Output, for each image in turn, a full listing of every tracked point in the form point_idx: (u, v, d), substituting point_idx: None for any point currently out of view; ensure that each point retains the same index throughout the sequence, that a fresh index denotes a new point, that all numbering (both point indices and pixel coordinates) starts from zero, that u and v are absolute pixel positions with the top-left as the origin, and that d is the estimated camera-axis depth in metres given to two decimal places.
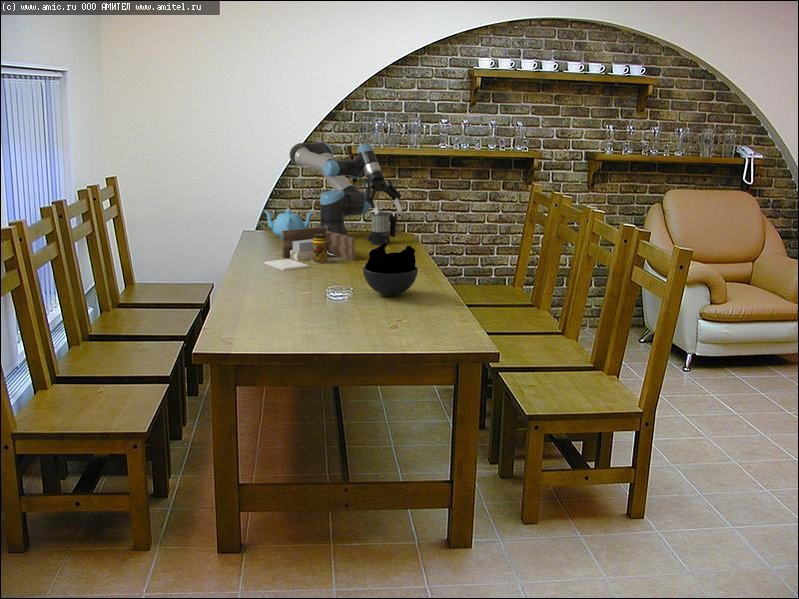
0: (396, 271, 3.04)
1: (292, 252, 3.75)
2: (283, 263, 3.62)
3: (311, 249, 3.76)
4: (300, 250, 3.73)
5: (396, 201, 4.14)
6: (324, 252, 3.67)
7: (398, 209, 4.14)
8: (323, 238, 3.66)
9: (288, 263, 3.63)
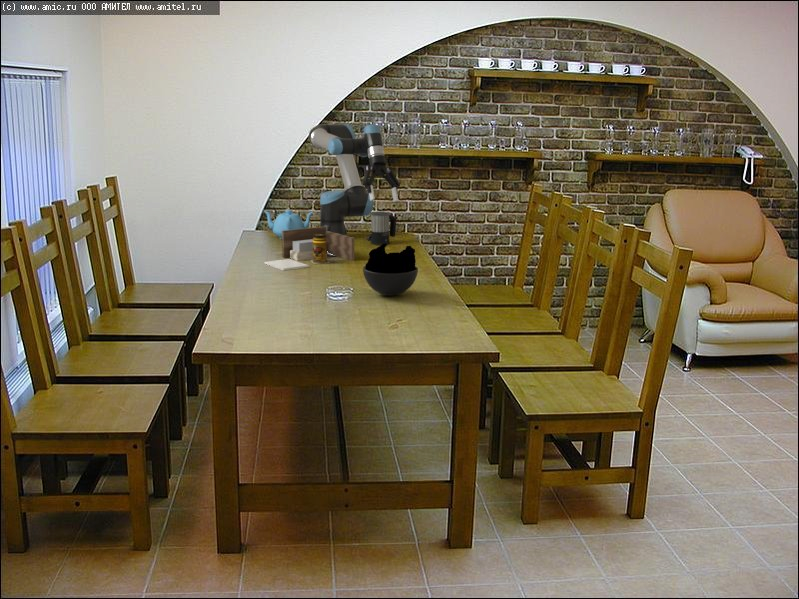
0: (396, 271, 3.04)
1: (292, 252, 3.75)
2: (283, 263, 3.62)
3: (311, 249, 3.76)
4: (300, 250, 3.73)
5: (394, 190, 4.02)
6: (324, 252, 3.67)
7: (394, 198, 4.01)
8: (323, 238, 3.66)
9: (288, 263, 3.63)
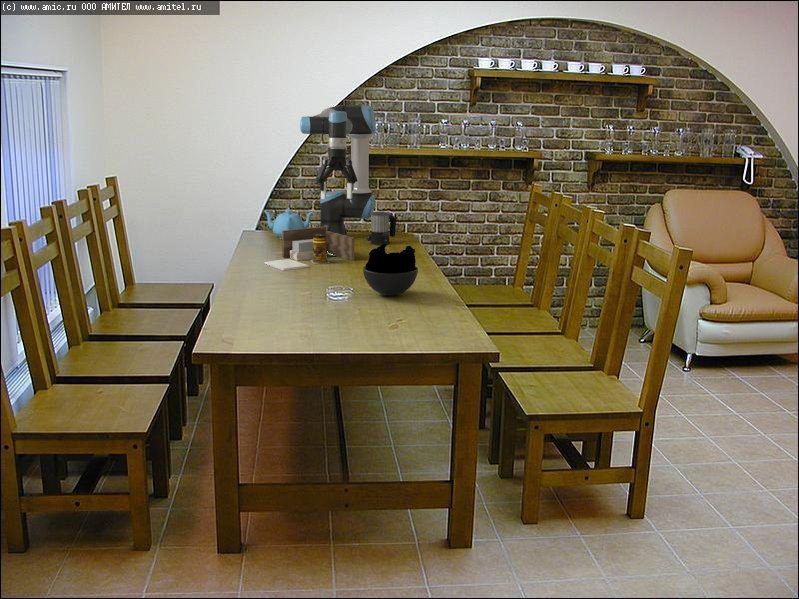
0: (396, 271, 3.04)
1: (292, 252, 3.75)
2: (283, 263, 3.62)
3: (311, 249, 3.76)
4: (299, 250, 3.73)
5: (349, 186, 3.72)
6: (324, 252, 3.67)
7: (348, 195, 3.73)
8: (323, 238, 3.66)
9: (288, 263, 3.63)
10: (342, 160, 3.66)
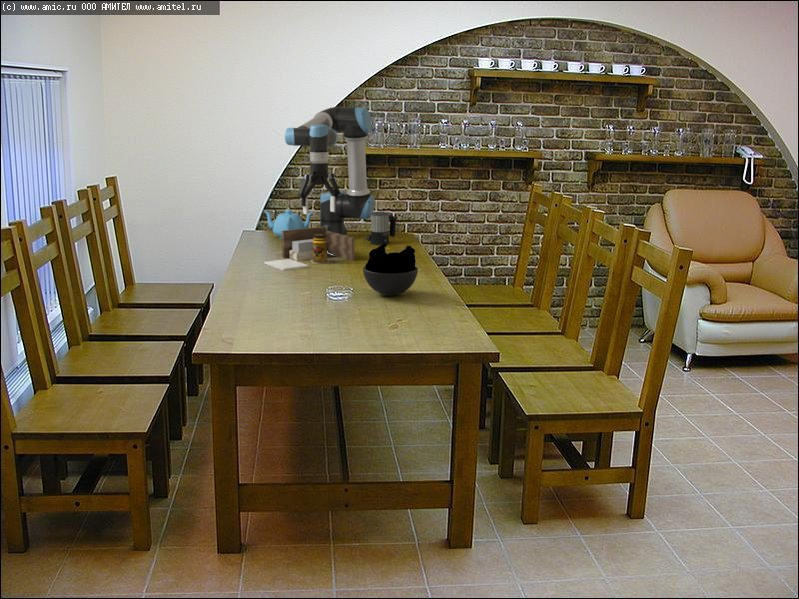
0: (396, 271, 3.04)
1: (292, 252, 3.75)
2: (283, 263, 3.62)
3: (311, 249, 3.76)
4: (299, 250, 3.73)
5: (332, 199, 3.68)
6: (324, 252, 3.67)
7: (331, 208, 3.70)
8: (323, 238, 3.66)
9: (288, 263, 3.63)
10: (324, 174, 3.63)
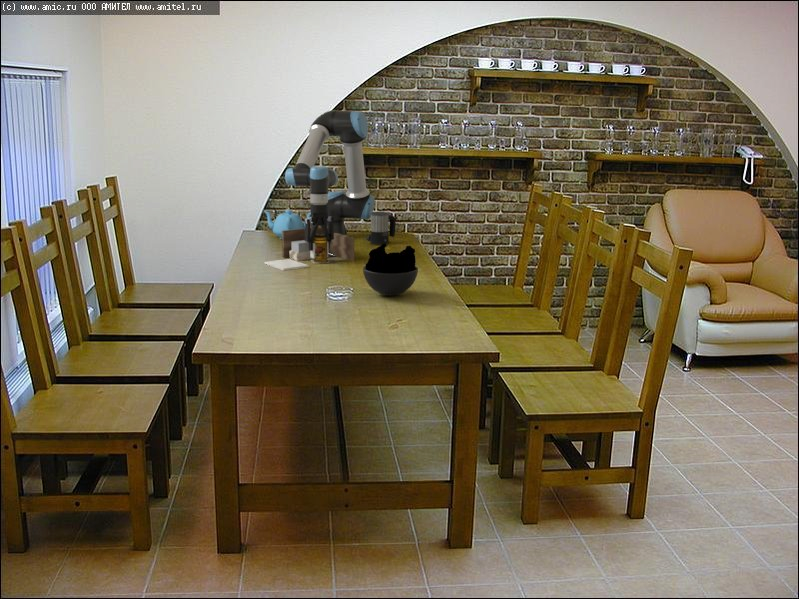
0: (396, 271, 3.04)
1: (291, 252, 3.75)
2: (283, 263, 3.62)
3: None
4: (299, 250, 3.73)
5: None
6: (325, 252, 3.68)
7: None
8: (324, 238, 3.66)
9: (288, 263, 3.63)
10: (325, 214, 3.67)
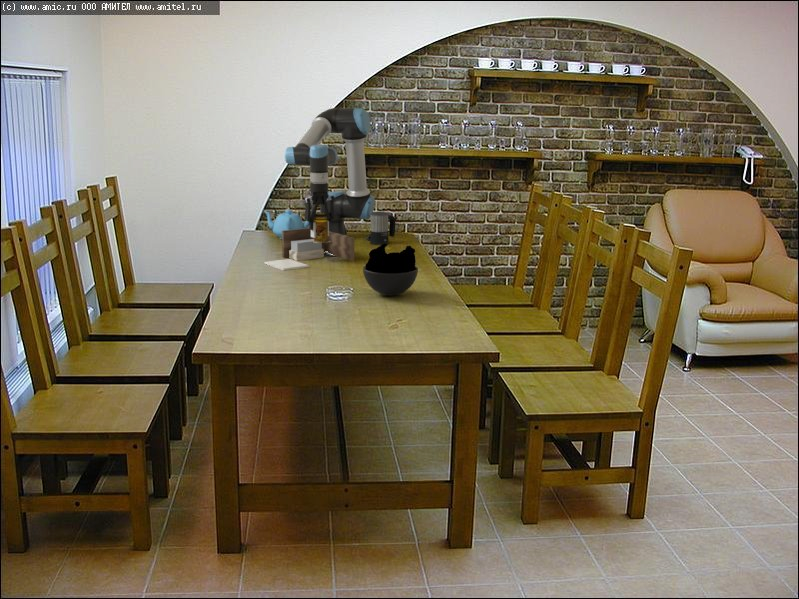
0: (396, 271, 3.04)
1: (291, 252, 3.75)
2: (283, 263, 3.62)
3: (309, 249, 3.76)
4: (298, 250, 3.73)
5: None
6: (325, 231, 3.66)
7: None
8: (324, 217, 3.65)
9: (288, 263, 3.63)
10: (325, 193, 3.65)
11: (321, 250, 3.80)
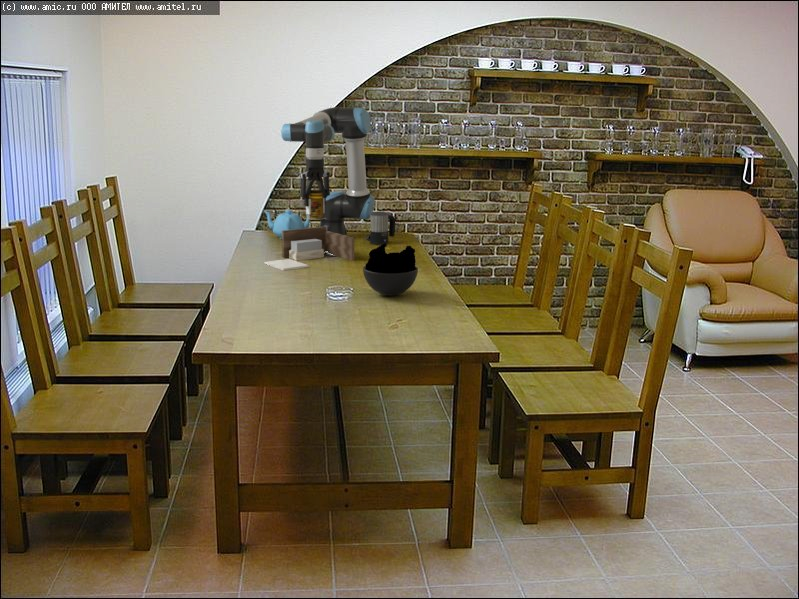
0: (396, 271, 3.04)
1: (291, 252, 3.75)
2: (283, 263, 3.62)
3: (309, 249, 3.76)
4: (298, 250, 3.73)
5: None
6: (321, 208, 3.62)
7: None
8: (320, 193, 3.61)
9: (288, 263, 3.63)
10: (321, 169, 3.61)
11: (321, 250, 3.80)
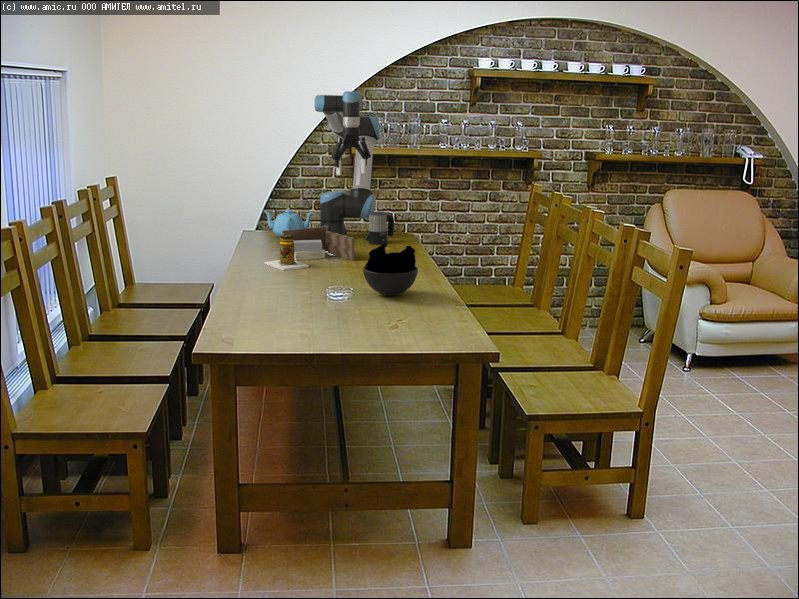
0: (396, 271, 3.04)
1: None
2: None
3: (307, 250, 3.75)
4: (294, 249, 3.74)
5: (363, 161, 3.95)
6: (291, 253, 3.59)
7: (362, 170, 3.96)
8: (290, 239, 3.58)
9: None
10: (356, 137, 3.89)
11: (323, 251, 3.78)
